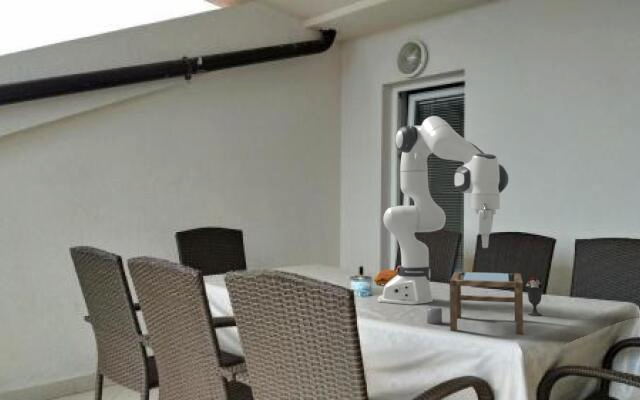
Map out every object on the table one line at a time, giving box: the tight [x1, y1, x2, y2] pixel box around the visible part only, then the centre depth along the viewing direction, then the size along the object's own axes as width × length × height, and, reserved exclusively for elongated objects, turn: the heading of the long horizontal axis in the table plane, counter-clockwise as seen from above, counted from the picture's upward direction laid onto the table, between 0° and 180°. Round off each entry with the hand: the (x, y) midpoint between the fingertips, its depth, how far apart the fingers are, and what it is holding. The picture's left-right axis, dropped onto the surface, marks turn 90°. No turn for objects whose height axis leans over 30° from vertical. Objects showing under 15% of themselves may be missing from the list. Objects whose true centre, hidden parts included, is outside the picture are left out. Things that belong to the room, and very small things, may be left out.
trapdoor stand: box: [449, 271, 524, 335], centre depth 196 cm, size 22×22×16 cm
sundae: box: [524, 272, 545, 317], centre depth 212 cm, size 7×7×15 cm
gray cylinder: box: [426, 306, 443, 325], centre depth 201 cm, size 5×5×5 cm
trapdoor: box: [462, 271, 510, 281], centre depth 197 cm, size 14×18×2 cm
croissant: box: [374, 269, 398, 286], centre depth 289 cm, size 14×16×8 cm
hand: (485, 246), depth 192 cm, fingers open, 8 cm apart
